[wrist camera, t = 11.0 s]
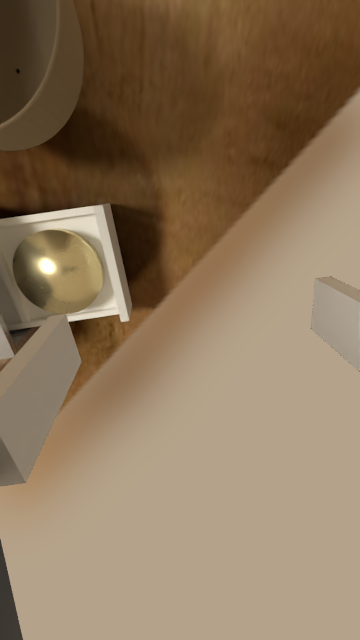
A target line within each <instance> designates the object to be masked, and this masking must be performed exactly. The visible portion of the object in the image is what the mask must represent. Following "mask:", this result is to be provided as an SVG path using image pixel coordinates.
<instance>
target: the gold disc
mask: <svg viewBox="0 0 360 640" xmlns="http://www.w3.org/2000/svg"><path fill="white" fill-rule="evenodd" d="M12 268H13V275H14V278H15V281H16V283H17V285H18V287H19V289H20V290H21V292H22V293H23V294H24V296H25V297H26V298H27V299H28V300H29V301H30V302H32V303H33V304H34V305H36V306H38V307H39V308H41V309H43V310H45V311H48V312H52V313H56V314H72V313H76V312H79V311H81V310H83V309H85V308H87V307H88V306H89V305H90V304H91V303H92V302H93V301H94V300H95V299H96V297H97V296H98V294H99V292H100V290H101V289H102V286H103V283H104V275H105V273H104V266H103V262H102V259H101V257H100V255H99V253H98V252H97V250H96V249H95V247H94V246H93V245H92V244H91V243H90V242H89V241H88V240H87V239H85V238H84V237H83V236H81V235H79V234H77V233H75V232H73V231H70V230H66V229H60V228H53V229H46V230H43V231H39V232H36V233H34V234H31V235H30V236H28V237H26V238H25V239H24V240H23V241H22V242H21V243H20V244H19V245H18V247H17V249H16V251H15V253H14V257H13V264H12Z"/></svg>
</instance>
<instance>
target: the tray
mask: <svg viewBox="0 0 360 640" xmlns="http://www.w3.org/2000/svg"><path fill="white" fill-rule="evenodd" d="M53 228H60V229H66V230H70V231H73V232H75V233H77V234H79V235H81V236H83V237H84V238H85V239H87V240H88V241H89V242H90V243H91V244H92V245H93V246H94V247H95V249H96V250H97V252H98V253H99V255H100V257H101V259H102V262H103V266H104V273H105V275H104V283H103V286H102V289H101V290H100V292H99V294H98V296H97V297H96V299H95V300H94V301H93V302H92V303H91V304H90V305H89V306H88V307H87V308H85V309H83V310H81V311H79V312H76V313H72V314H66V316H67V319H68V322H70V321H77V320H83V319H90V318H97V317H103V316H110V315H117V314H119V315H120V319H121V322H124V321H129V320H130V315H131V310H132V302H131V297H130V293H129V288H128V284H127V279H126V274H125V270H124V265H123V261H122V256H121V252H120V247H119V243H118V238H117V234H116V229H115V224H114V220H113V215H112V211H111V206H110V203H109V204H102V205H95V206H88V207H81V208H74V209H67V210H60V211H53V212H46V213H39V214H32V215H25V216H18V217H11V218H4V219H0V313H1V315H2V318H3V320H4V322H5V324H6V326H7V329H8V331H10V330H17V329H23V328H30V327H37V326H42V324H43V323H44V322H45V321H46V320H47V319H48V318H49V317H50V316H54V315H61V314H56V313H52V312H48V311H45V310H43V309H41V308H39V307H38V306H36V305H34V304H33V303H32V302H30V301H29V300H28V299H27V298H26V297H25V296H24V294H23V293H22V292H21V290H20V289H19V287H18V285H17V283H16V281H15V278H14V275H13V268H12V264H13V257H14V253H15V251H16V249H17V247H18V245H19V244H20V243H21V242H22V241H23V240H24V239H25V238H26V237H28V236H30V235H31V234H34V233H36V232H39V231H43V230H46V229H53Z"/></svg>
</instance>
